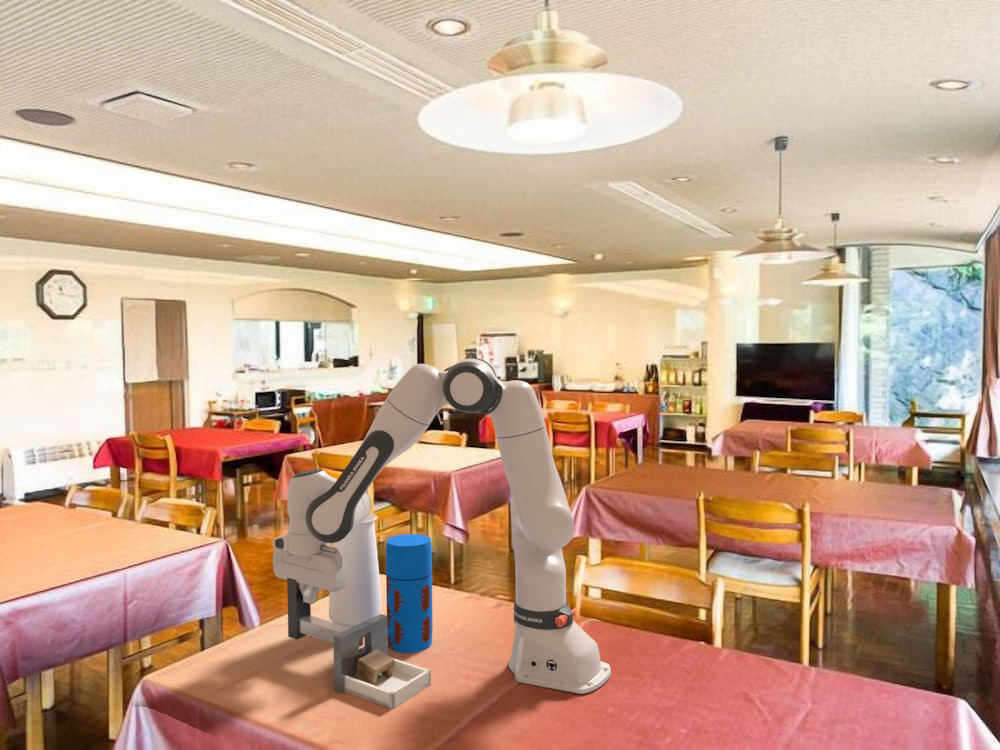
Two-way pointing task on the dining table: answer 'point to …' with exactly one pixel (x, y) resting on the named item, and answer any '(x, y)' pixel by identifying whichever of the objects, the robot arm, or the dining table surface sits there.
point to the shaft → (308, 618)
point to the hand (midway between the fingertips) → (309, 602)
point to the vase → (358, 577)
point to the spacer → (374, 666)
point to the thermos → (409, 592)
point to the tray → (391, 685)
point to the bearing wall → (357, 647)
